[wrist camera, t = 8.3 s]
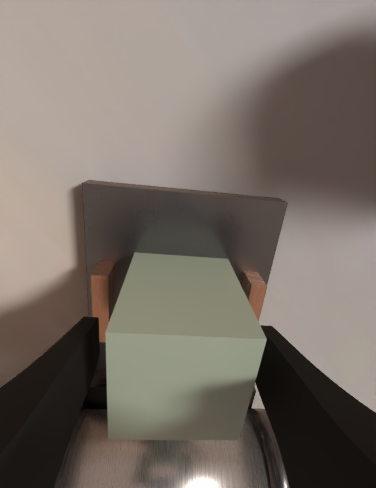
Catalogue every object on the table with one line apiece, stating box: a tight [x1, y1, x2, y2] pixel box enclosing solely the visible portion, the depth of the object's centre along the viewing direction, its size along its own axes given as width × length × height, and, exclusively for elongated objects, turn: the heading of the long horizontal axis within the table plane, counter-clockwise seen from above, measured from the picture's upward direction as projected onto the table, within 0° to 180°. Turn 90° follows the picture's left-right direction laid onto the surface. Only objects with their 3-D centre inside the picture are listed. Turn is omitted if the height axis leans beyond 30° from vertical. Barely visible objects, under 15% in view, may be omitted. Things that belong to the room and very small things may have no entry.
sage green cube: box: [105, 252, 267, 440], centre depth 12 cm, size 7×5×6 cm
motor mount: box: [54, 180, 290, 488], centre depth 13 cm, size 19×13×7 cm
